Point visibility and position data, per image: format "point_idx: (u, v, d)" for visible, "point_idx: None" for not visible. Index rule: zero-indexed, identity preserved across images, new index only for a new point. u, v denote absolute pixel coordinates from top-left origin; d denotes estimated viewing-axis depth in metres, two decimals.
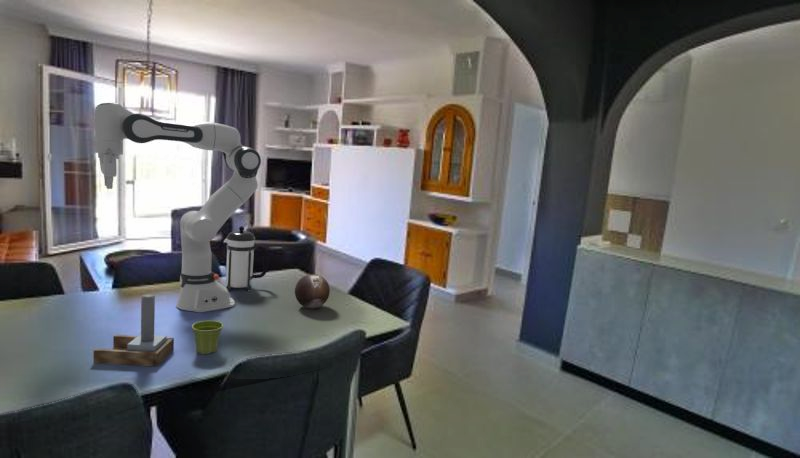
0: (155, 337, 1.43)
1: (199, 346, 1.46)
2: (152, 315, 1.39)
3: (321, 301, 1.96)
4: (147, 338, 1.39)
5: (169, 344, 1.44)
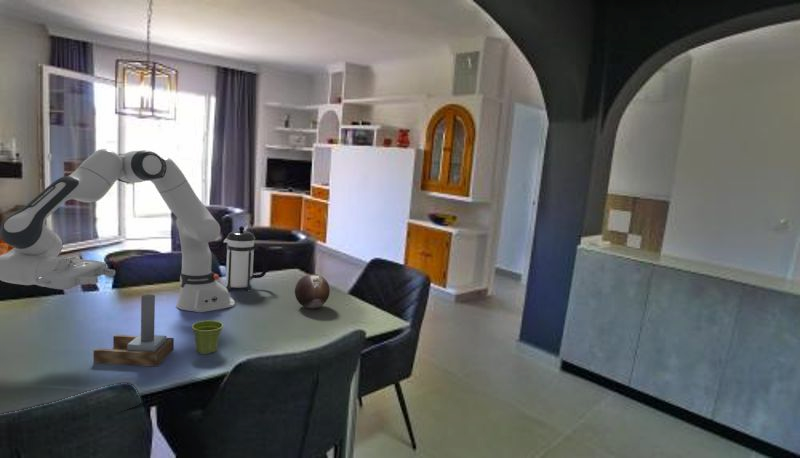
0: (155, 337, 1.43)
1: (199, 346, 1.46)
2: (152, 315, 1.39)
3: (321, 301, 1.96)
4: (147, 338, 1.39)
5: (169, 344, 1.44)
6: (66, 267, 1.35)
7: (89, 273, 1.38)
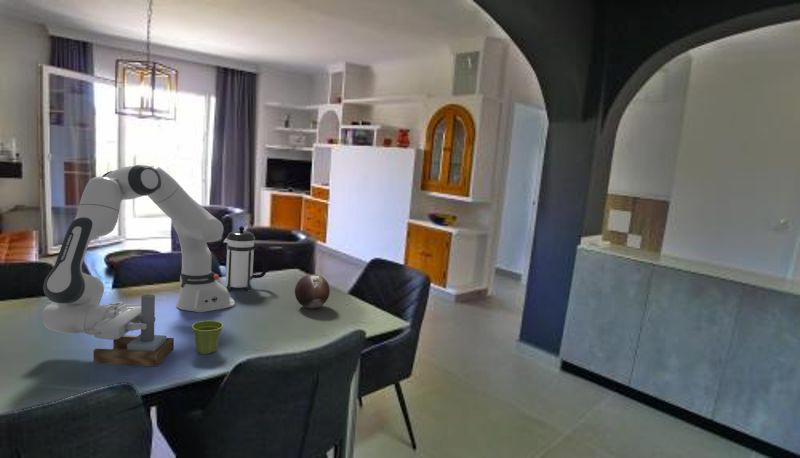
0: (155, 337, 1.43)
1: (199, 346, 1.46)
2: (152, 315, 1.39)
3: (321, 301, 1.96)
4: (147, 338, 1.39)
5: (169, 344, 1.44)
6: (113, 315, 1.38)
7: (134, 319, 1.41)
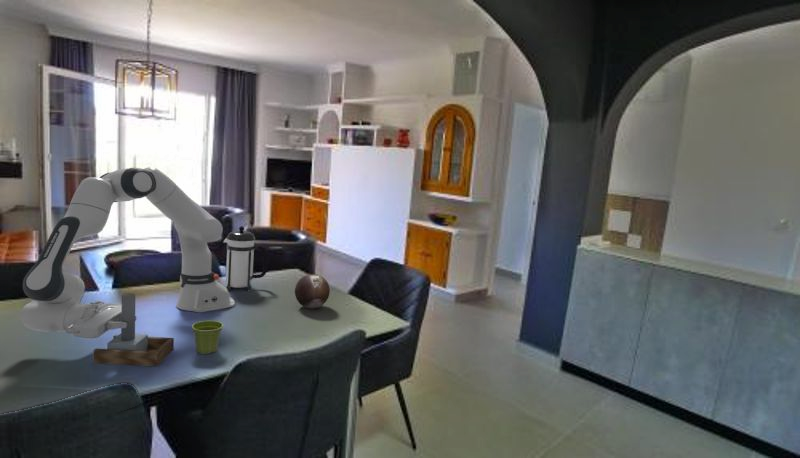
0: (136, 336, 1.43)
1: (199, 346, 1.46)
2: (132, 314, 1.39)
3: (321, 301, 1.96)
4: (128, 337, 1.39)
5: (169, 344, 1.44)
6: (93, 314, 1.37)
7: (115, 318, 1.40)
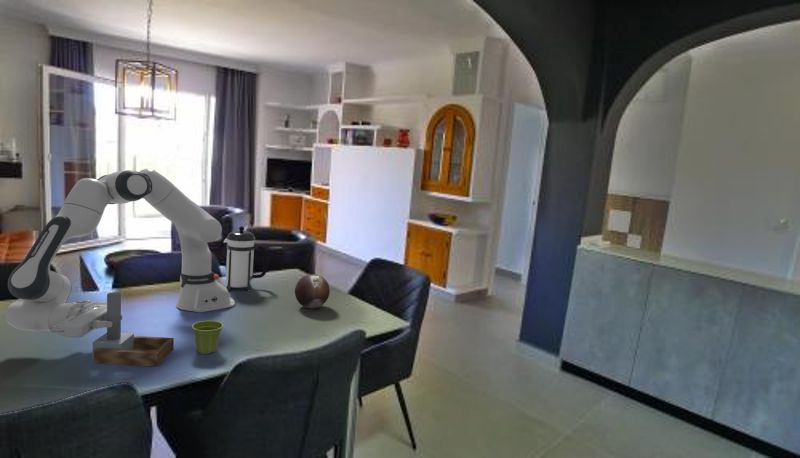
0: (122, 335, 1.42)
1: (199, 346, 1.46)
2: (118, 313, 1.38)
3: (321, 301, 1.96)
4: (113, 336, 1.38)
5: (169, 344, 1.44)
6: (78, 313, 1.37)
7: (100, 317, 1.40)
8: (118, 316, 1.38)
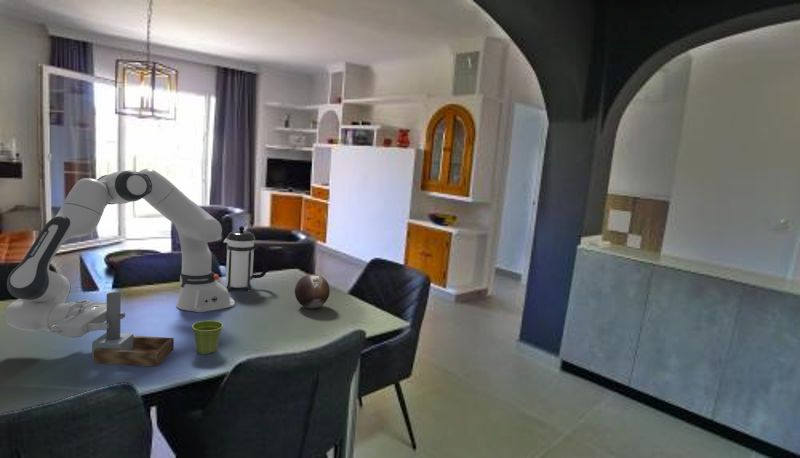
0: (122, 335, 1.42)
1: (199, 346, 1.46)
2: (118, 313, 1.38)
3: (321, 301, 1.96)
4: (113, 336, 1.38)
5: (169, 344, 1.44)
6: (77, 313, 1.37)
7: (100, 317, 1.40)
8: (118, 316, 1.38)
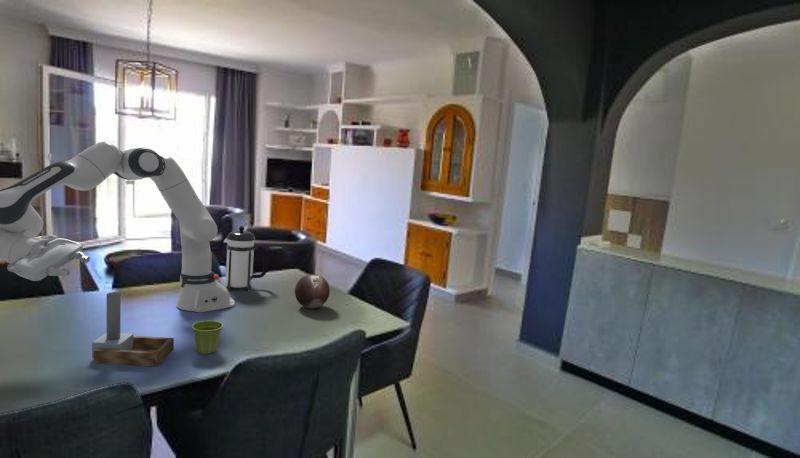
0: (122, 335, 1.42)
1: (199, 346, 1.46)
2: (118, 313, 1.38)
3: (321, 301, 1.96)
4: (113, 336, 1.38)
5: (169, 344, 1.44)
6: (40, 252, 1.34)
7: (63, 259, 1.38)
8: (118, 316, 1.38)
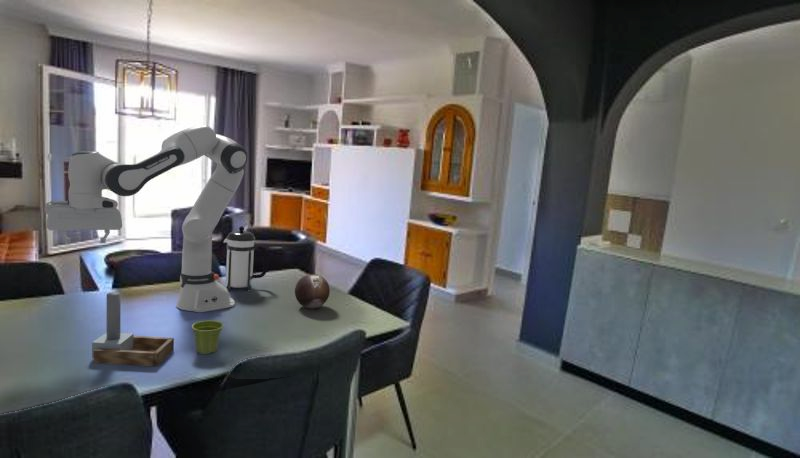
0: (122, 335, 1.42)
1: (199, 346, 1.46)
2: (118, 313, 1.38)
3: (321, 301, 1.96)
4: (113, 336, 1.38)
5: (169, 344, 1.44)
6: (81, 212, 1.45)
7: None
8: (118, 316, 1.38)
